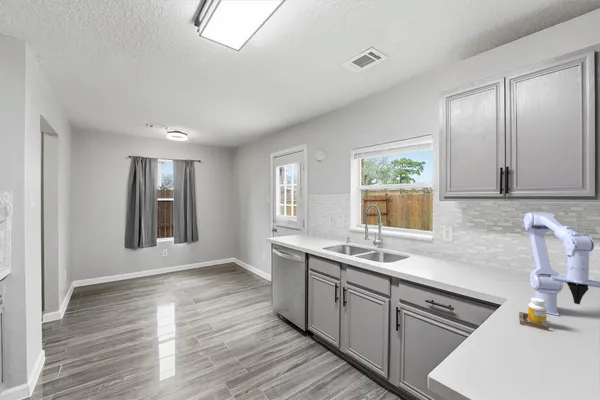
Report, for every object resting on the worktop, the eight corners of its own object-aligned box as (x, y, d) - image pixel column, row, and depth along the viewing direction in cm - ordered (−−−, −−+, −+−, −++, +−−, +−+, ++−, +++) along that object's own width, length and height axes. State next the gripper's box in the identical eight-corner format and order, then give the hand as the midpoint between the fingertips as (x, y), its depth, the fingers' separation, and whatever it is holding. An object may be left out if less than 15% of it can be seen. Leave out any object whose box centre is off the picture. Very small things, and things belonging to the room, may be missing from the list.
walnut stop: (519, 315, 115) (519, 311, 114) (545, 321, 109) (545, 317, 109) (519, 324, 106) (519, 320, 106) (548, 330, 101) (548, 326, 101)
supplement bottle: (526, 318, 111) (527, 295, 110) (544, 321, 108) (545, 298, 107) (529, 324, 106) (529, 300, 106) (547, 328, 103) (548, 303, 103)
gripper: (552, 266, 103) (551, 301, 103) (609, 273, 94) (608, 312, 94) (550, 263, 108) (549, 296, 109) (604, 269, 99) (603, 305, 100)
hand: (576, 303), depth 102 cm, fingers closed
